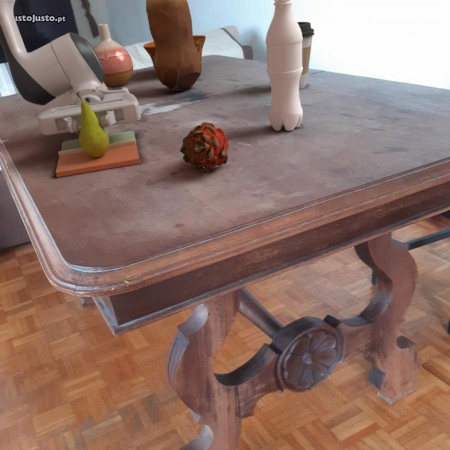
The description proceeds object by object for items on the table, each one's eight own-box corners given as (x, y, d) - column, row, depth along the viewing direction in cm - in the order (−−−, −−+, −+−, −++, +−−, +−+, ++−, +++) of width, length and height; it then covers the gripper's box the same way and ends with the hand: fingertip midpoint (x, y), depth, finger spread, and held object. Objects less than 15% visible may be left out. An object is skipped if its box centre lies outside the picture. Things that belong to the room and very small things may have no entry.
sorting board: (57, 177, 90) (54, 168, 89) (63, 146, 106) (61, 138, 105) (139, 163, 92) (138, 154, 91) (134, 134, 108) (132, 126, 107)
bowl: (136, 76, 164) (130, 44, 159) (184, 63, 175) (179, 33, 169) (173, 81, 151) (168, 47, 145) (221, 67, 162) (218, 34, 156)
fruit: (106, 161, 92) (89, 96, 85) (78, 162, 93) (60, 98, 86) (117, 151, 96) (102, 88, 89) (91, 152, 98) (74, 90, 91)
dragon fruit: (208, 189, 82) (203, 174, 93) (244, 154, 80) (235, 143, 91) (173, 153, 79) (172, 142, 90) (209, 116, 77) (204, 109, 88)
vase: (111, 80, 163) (98, 22, 152) (144, 80, 157) (133, 19, 147) (86, 90, 153) (70, 28, 143) (120, 91, 148) (106, 26, 137)
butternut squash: (173, 84, 148) (159, -11, 133) (211, 84, 143) (201, -15, 128) (149, 96, 138) (131, -5, 124) (189, 96, 133) (175, -9, 118)
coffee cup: (314, 80, 133) (315, 19, 125) (313, 90, 124) (314, 25, 116) (274, 83, 136) (272, 23, 127) (270, 93, 127) (267, 29, 118)
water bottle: (264, 132, 100) (258, -8, 85) (274, 122, 105) (269, -12, 91) (298, 133, 97) (297, -11, 83) (306, 122, 103) (306, -15, 88)
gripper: (36, 100, 98) (28, 117, 87) (134, 86, 101) (138, 100, 90) (46, 131, 102) (39, 151, 91) (140, 116, 104) (144, 133, 93)
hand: (89, 125), depth 90 cm, fingers open, 5 cm apart
